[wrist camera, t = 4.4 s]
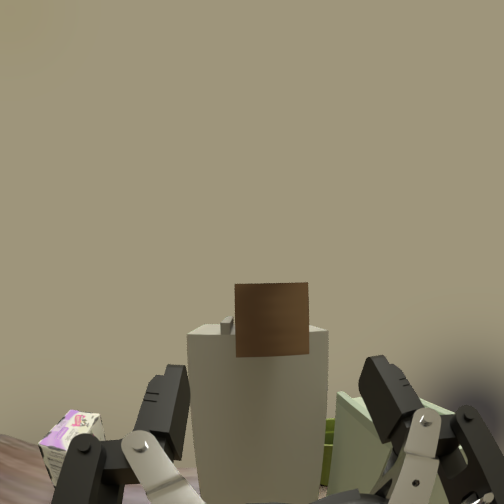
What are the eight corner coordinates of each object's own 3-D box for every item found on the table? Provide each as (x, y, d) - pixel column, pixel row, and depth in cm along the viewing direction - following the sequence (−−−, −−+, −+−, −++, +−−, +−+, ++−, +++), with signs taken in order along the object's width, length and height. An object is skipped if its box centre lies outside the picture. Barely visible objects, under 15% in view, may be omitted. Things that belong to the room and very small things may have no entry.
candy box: (90, 482, 28) (69, 407, 31) (120, 487, 29) (101, 412, 32) (72, 525, 15) (35, 441, 18) (108, 534, 16) (75, 451, 19)
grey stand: (213, 558, 16) (186, 322, 22) (217, 509, 28) (204, 316, 34) (308, 553, 16) (328, 319, 23) (293, 506, 28) (299, 314, 34)
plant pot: (370, 471, 35) (378, 425, 37) (329, 501, 28) (336, 452, 30) (326, 455, 44) (330, 412, 47) (283, 477, 38) (285, 431, 40)
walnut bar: (235, 357, 12) (234, 283, 13) (238, 322, 38) (238, 297, 38) (309, 354, 12) (307, 282, 13) (263, 321, 38) (263, 296, 39)
